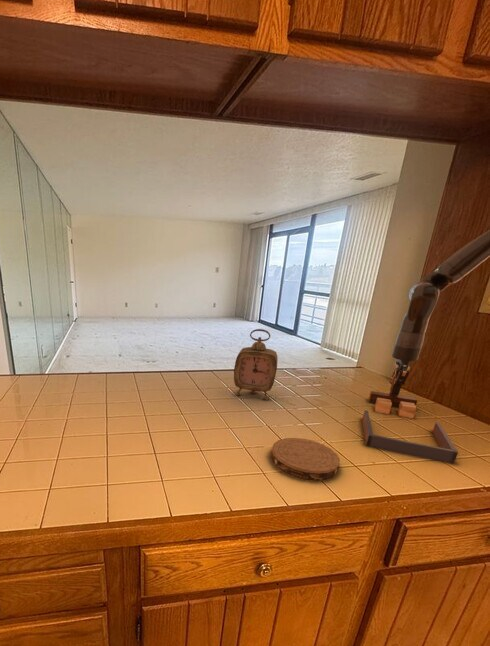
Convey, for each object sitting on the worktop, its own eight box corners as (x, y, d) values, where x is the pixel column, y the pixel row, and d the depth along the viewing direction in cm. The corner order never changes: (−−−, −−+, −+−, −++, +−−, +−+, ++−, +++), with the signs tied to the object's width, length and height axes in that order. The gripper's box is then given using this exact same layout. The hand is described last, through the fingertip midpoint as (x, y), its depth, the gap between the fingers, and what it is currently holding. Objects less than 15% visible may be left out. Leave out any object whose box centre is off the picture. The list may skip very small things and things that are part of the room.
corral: (361, 419, 112) (364, 410, 111) (435, 433, 105) (439, 422, 103) (365, 446, 96) (369, 435, 95) (453, 464, 89) (458, 452, 87)
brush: (369, 402, 126) (375, 377, 122) (368, 399, 128) (374, 375, 124) (414, 409, 120) (422, 384, 116) (412, 406, 123) (421, 381, 119)
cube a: (374, 408, 122) (377, 397, 120) (387, 410, 120) (390, 399, 118) (375, 412, 118) (378, 401, 117) (388, 414, 117) (392, 403, 115)
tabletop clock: (231, 396, 129) (238, 329, 119) (235, 388, 137) (242, 325, 127) (271, 402, 124) (281, 333, 115) (273, 394, 132) (283, 328, 122)
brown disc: (307, 443, 97) (309, 434, 96) (352, 475, 83) (355, 464, 82) (258, 452, 92) (260, 442, 91) (297, 487, 78) (299, 476, 77)
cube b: (397, 411, 119) (400, 401, 117) (410, 414, 117) (414, 403, 116) (398, 416, 116) (402, 405, 114) (413, 418, 114) (416, 407, 112)
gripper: (426, 350, 108) (409, 401, 115) (417, 341, 120) (403, 388, 127) (398, 347, 111) (384, 397, 118) (392, 339, 123) (380, 385, 130)
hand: (394, 392), depth 122 cm, fingers closed on brush, 2 cm apart
